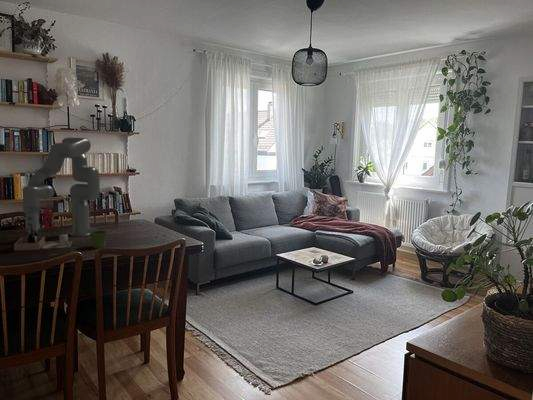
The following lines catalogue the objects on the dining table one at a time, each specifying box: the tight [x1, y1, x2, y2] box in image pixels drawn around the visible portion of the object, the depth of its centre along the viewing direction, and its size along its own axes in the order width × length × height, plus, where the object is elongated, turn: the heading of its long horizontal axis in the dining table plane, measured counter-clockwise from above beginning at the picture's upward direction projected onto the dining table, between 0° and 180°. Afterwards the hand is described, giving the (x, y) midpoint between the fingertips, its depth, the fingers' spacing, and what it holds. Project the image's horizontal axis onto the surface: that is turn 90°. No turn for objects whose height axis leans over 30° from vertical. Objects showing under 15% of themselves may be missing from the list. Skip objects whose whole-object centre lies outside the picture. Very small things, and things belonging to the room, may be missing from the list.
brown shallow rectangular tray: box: [13, 236, 46, 252], centre depth 216 cm, size 12×16×4 cm
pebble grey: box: [59, 233, 69, 246], centre depth 221 cm, size 4×4×6 cm
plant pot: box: [89, 230, 108, 249], centre depth 221 cm, size 9×9×9 cm
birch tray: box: [40, 240, 73, 250], centre depth 221 cm, size 14×14×1 cm
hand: (32, 242), depth 216 cm, fingers open, 6 cm apart
